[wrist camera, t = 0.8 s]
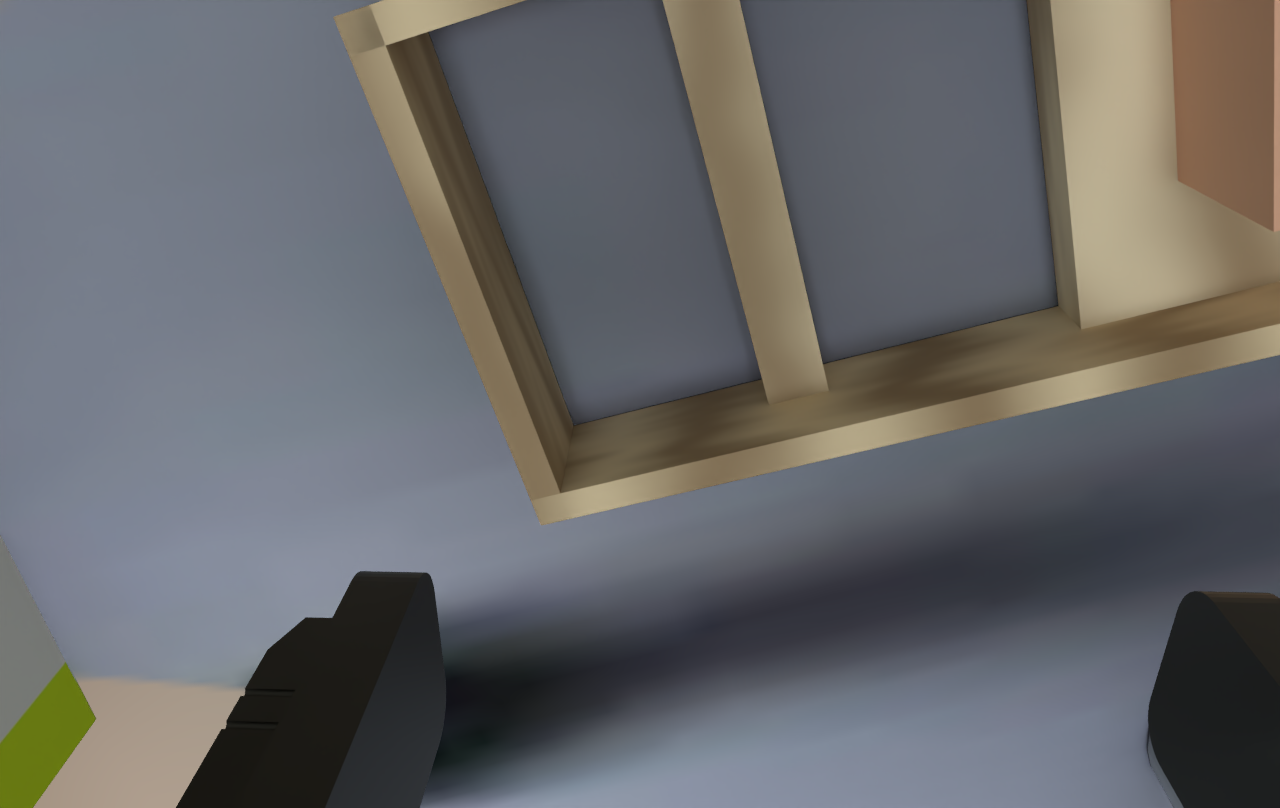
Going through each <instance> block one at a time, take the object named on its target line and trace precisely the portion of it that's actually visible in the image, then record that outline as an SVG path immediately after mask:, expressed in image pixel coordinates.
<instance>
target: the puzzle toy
mask: <svg viewBox="0 0 1280 808" xmlns="http://www.w3.org/2000/svg"><path fill="white" fill-rule="evenodd" d="M95 720H96V717H95V715H94V713H93V711H92V710H91V707H90V705H89V704H88V702H87V700H86V698H85V696H84V694H83V692H82V690H81V688H80V686H79V684H78V682H77V680H76V679H74V677H73V675H72V673H71V672H70V670H69V668H68V666H67V664H66V662H65V660H64V658H63V656H62V654H61V652H60V650H59V648H58V646H57V644H56V642H55V640H54V638H53V637H52V635H51V633H50V631H49V629H48V627H47V625H46V623H45V621H44V619H43V617H42V615H41V613H40V611H39V609H38V607H37V605H36V604H35V602H34V600H33V598H32V596H31V594H30V592H29V590H28V588H27V586H26V584H25V582H24V580H23V578H22V576H21V574H20V572H19V570H18V569H17V567H16V565H15V563H14V561H13V559H12V557H11V555H10V553H9V551H8V549H7V547H6V545H5V543H4V541H3V539H2V537H1V535H0V808H33V807H34V805H35V804H36V803H37V801H38V800H39V798H40V797H41V796H42V794H43V793H44V791H45V790H46V789H47V787H48V785H49V784H50V783H51V781H52V780H53V779H54V777H55V776H56V775H57V773H58V772H59V770H60V769H61V768H62V766H63V765H64V763H65V762H66V761H67V759H68V758H69V756H70V755H71V754H72V752H73V751H74V749H75V748H76V746H77V745H78V744H79V742H80V741H81V740H82V738H83V737H84V735H85V734H86V733H87V731H88V730H89V728H90V727H91V726H92V724H93V723H94V721H95Z"/></svg>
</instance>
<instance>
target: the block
mask: <svg viewBox="0 0 1280 808" xmlns="http://www.w3.org/2000/svg"><path fill="white" fill-rule="evenodd" d="M1170 6H1171V29H1172V53H1173V77H1174V101H1175V125H1176V149H1177V173H1178V181H1179V182H1181V183H1183V184H1185V185H1187V186H1189V187H1191V188H1192V189H1194V190H1196V191H1198V192H1200V193H1202V194H1204V195H1205V196H1207V197H1209V198H1211V199H1213V200H1215V201H1217V202H1219V203H1220V204H1222V205H1224V206H1226V207H1228V208H1230V209H1232V210H1233V211H1235V212H1237V213H1239V214H1241V215H1243V216H1245V217H1247V218H1248V219H1250V220H1252V221H1254V222H1256V223H1258V224H1260V225H1261V226H1263V227H1265V228H1267V229H1269V230H1271V231H1273V232H1276V231H1280V0H1170Z"/></svg>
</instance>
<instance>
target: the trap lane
mask: <svg viewBox="0 0 1280 808" xmlns="http://www.w3.org/2000/svg"><path fill="white" fill-rule="evenodd" d="M522 1H525V0H383V1H380V2H377V3H374V4H371V5H368V6H365V7H362V8H359V9H356V10H353V11H350V12H347V13H344V14H341V15H338V16H335V17H334V20H335V22H336V25H337V27H338V30H339V32H340V35H341V37H342V39H343V42H344V44H345V47H346V49H347V52H348V54H349V57H350V59H351V62H352V64H353V66H354V69H355V71H356V74H357V76H358V79H359V81H360V84H361V86H362V88H363V91H364V93H365V96H366V98H367V101H368V103H369V106H370V108H371V110H372V113H373V115H374V118H375V120H376V123H377V125H378V128H379V130H380V132H381V135H382V137H383V140H384V142H385V145H386V147H387V150H388V152H389V154H390V157H391V159H392V162H393V164H394V167H395V169H396V172H397V174H398V177H399V179H400V181H401V184H402V186H403V189H404V191H405V194H406V196H407V199H408V201H409V203H410V206H411V208H412V211H413V213H414V216H415V218H416V221H417V223H418V225H419V228H420V230H421V233H422V235H423V238H424V240H425V243H426V245H427V247H428V250H429V252H430V255H431V257H432V260H433V262H434V265H435V267H436V270H437V272H438V274H439V277H440V279H441V282H442V284H443V287H444V289H445V292H446V294H447V296H448V299H449V301H450V304H451V306H452V309H453V311H454V314H455V316H456V318H457V321H458V323H459V326H460V328H461V331H462V333H463V336H464V338H465V340H466V343H467V345H468V348H469V350H470V353H471V355H472V358H473V360H474V362H475V365H476V367H477V370H478V372H479V375H480V377H481V380H482V382H483V385H484V387H485V389H486V392H487V394H488V397H489V399H490V402H491V404H492V407H493V409H494V411H495V414H496V416H497V419H498V421H499V424H500V426H501V429H502V431H503V433H504V436H505V438H506V441H507V443H508V446H509V448H510V451H511V453H512V455H513V458H514V460H515V463H516V465H517V468H518V470H519V473H520V475H521V478H522V480H523V482H524V485H525V487H526V490H527V492H528V495H529V497H530V500H531V502H532V504H533V507H534V509H535V512H536V514H537V517H538V519H539V522H540V524H541V525H546V524H550V523H554V522H559V521H563V520H567V519H572V518H576V517H580V516H585V515H589V514H593V513H598V512H602V511H606V510H611V509H615V508H619V507H623V506H628V505H632V504H636V503H641V502H645V501H649V500H654V499H658V498H662V497H667V496H671V495H675V494H680V493H684V492H688V491H693V490H697V489H701V488H706V487H710V486H714V485H719V484H723V483H727V482H732V481H736V480H740V479H745V478H749V477H753V476H758V475H762V474H766V473H771V472H775V471H779V470H784V469H788V468H792V467H797V466H801V465H805V464H810V463H814V462H818V461H822V460H827V459H831V458H835V457H840V456H844V455H848V454H853V453H857V452H861V451H866V450H870V449H874V448H879V447H883V446H887V445H892V444H896V443H900V442H905V441H909V440H913V439H918V438H922V437H926V436H931V435H935V434H939V433H944V432H948V431H952V430H957V429H961V428H965V427H970V426H974V425H978V424H983V423H987V422H991V421H996V420H1000V419H1004V418H1008V417H1013V416H1017V415H1021V414H1026V413H1030V412H1034V411H1039V410H1043V409H1047V408H1052V407H1056V406H1060V405H1065V404H1069V403H1073V402H1078V401H1082V400H1086V399H1091V398H1095V397H1099V396H1104V395H1108V394H1112V393H1117V392H1121V391H1125V390H1130V389H1134V388H1138V387H1143V386H1147V385H1151V384H1156V383H1160V382H1164V381H1169V380H1173V379H1177V378H1182V377H1186V376H1190V375H1195V374H1199V373H1203V372H1207V371H1212V370H1216V369H1220V368H1225V367H1229V366H1233V365H1238V364H1242V363H1246V362H1251V361H1255V360H1259V359H1264V358H1268V357H1272V356H1277V355H1280V231H1276V232H1273V231H1271V230H1269V229H1267V228H1265V227H1263V226H1261V225H1260V224H1258V223H1256V222H1254V221H1252V220H1250V219H1248V218H1247V217H1245V216H1243V215H1241V214H1239V213H1237V212H1235V211H1233V210H1232V209H1230V208H1228V207H1226V206H1224V205H1222V204H1220V203H1219V202H1217V201H1215V200H1213V199H1211V198H1209V197H1207V196H1205V195H1204V194H1202V193H1200V192H1198V191H1196V190H1194V189H1192V188H1191V187H1189V186H1187V185H1185V184H1183V183H1181V182H1179V181H1178V173H1177V149H1176V125H1175V101H1174V77H1173V53H1172V29H1171V6H1170V0H1027V9H1028V18H1029V28H1030V37H1031V47H1032V57H1033V66H1034V76H1035V85H1036V95H1037V104H1038V114H1039V124H1040V133H1041V143H1042V152H1043V162H1044V172H1045V181H1046V191H1047V200H1048V210H1049V219H1050V229H1051V239H1052V248H1053V258H1054V267H1055V277H1056V287H1057V296H1058V306H1057V307H1053V308H1049V309H1045V310H1040V311H1036V312H1032V313H1028V314H1024V315H1020V316H1016V317H1012V318H1008V319H1004V320H1000V321H996V322H992V323H988V324H984V325H980V326H976V327H972V328H968V329H964V330H960V331H956V332H951V333H947V334H943V335H939V336H935V337H931V338H927V339H923V340H919V341H915V342H911V343H907V344H903V345H899V346H895V347H891V348H887V349H883V350H879V351H875V352H871V353H866V354H862V355H858V356H854V357H850V358H846V359H842V360H838V361H834V362H830V363H826V364H823V363H822V358H821V354H820V349H819V345H818V341H817V336H816V332H815V328H814V323H813V319H812V315H811V310H810V306H809V301H808V297H807V293H806V288H805V284H804V280H803V275H802V271H801V267H800V262H799V258H798V253H797V249H796V245H795V240H794V236H793V232H792V227H791V223H790V219H789V214H788V210H787V205H786V201H785V197H784V192H783V188H782V184H781V179H780V175H779V171H778V166H777V162H776V157H775V153H774V149H773V144H772V140H771V136H770V131H769V127H768V123H767V118H766V114H765V109H764V105H763V101H762V96H761V92H760V88H759V83H758V79H757V74H756V70H755V66H754V61H753V57H752V53H751V48H750V44H749V40H748V35H747V31H746V26H745V22H744V18H743V13H742V9H741V5H740V0H663V3H664V7H665V11H666V15H667V19H668V22H669V26H670V30H671V34H672V38H673V41H674V45H675V49H676V53H677V57H678V61H679V64H680V68H681V72H682V76H683V80H684V83H685V87H686V91H687V95H688V99H689V102H690V106H691V110H692V114H693V118H694V121H695V125H696V129H697V133H698V137H699V141H700V144H701V148H702V152H703V156H704V160H705V163H706V167H707V171H708V175H709V179H710V182H711V186H712V190H713V194H714V198H715V201H716V205H717V209H718V213H719V217H720V221H721V224H722V228H723V232H724V236H725V240H726V243H727V247H728V251H729V255H730V259H731V262H732V266H733V270H734V274H735V278H736V281H737V285H738V289H739V293H740V297H741V301H742V304H743V308H744V312H745V316H746V320H747V323H748V327H749V331H750V335H751V339H752V342H753V346H754V350H755V354H756V358H757V361H758V365H759V369H760V373H761V377H762V379H761V380H757V381H753V382H749V383H745V384H741V385H737V386H733V387H729V388H725V389H721V390H717V391H713V392H709V393H705V394H701V395H696V396H692V397H688V398H684V399H680V400H676V401H672V402H668V403H664V404H660V405H656V406H652V407H648V408H644V409H640V410H636V411H632V412H628V413H624V414H620V415H616V416H612V417H607V418H603V419H599V420H595V421H591V422H587V423H583V424H579V425H575V426H573V423H572V420H571V417H570V415H569V412H568V409H567V407H566V404H565V401H564V399H563V396H562V393H561V390H560V388H559V385H558V382H557V380H556V377H555V374H554V371H553V369H552V366H551V363H550V361H549V358H548V355H547V353H546V350H545V347H544V344H543V342H542V339H541V336H540V334H539V331H538V328H537V325H536V323H535V320H534V317H533V315H532V312H531V309H530V307H529V304H528V301H527V298H526V296H525V293H524V290H523V288H522V285H521V282H520V279H519V277H518V274H517V271H516V269H515V266H514V263H513V261H512V258H511V255H510V252H509V250H508V247H507V244H506V242H505V239H504V236H503V233H502V231H501V228H500V225H499V223H498V220H497V217H496V215H495V212H494V209H493V206H492V204H491V201H490V198H489V196H488V193H487V190H486V187H485V185H484V182H483V179H482V177H481V174H480V171H479V169H478V166H477V163H476V160H475V158H474V155H473V152H472V150H471V147H470V144H469V141H468V139H467V136H466V133H465V131H464V128H463V125H462V123H461V120H460V117H459V114H458V112H457V109H456V106H455V104H454V101H453V98H452V95H451V93H450V90H449V87H448V85H447V82H446V79H445V77H444V74H443V71H442V68H441V66H440V63H439V60H438V58H437V55H436V52H435V49H434V47H433V44H432V41H431V39H430V36H429V33H428V32H429V31H432V30H435V29H438V28H441V27H445V26H448V25H451V24H454V23H457V22H460V21H463V20H466V19H469V18H472V17H475V16H479V15H482V14H485V13H488V12H491V11H494V10H497V9H500V8H503V7H506V6H510V5H513V4H516V3H519V2H522Z"/></svg>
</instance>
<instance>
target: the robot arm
mask: <svg viewBox="0 0 1280 808" xmlns="http://www.w3.org/2000/svg"><path fill="white" fill-rule="evenodd" d="M445 706H446V681H445V672H444V664H443V656H442V648H441V640H440V632H439V624H438V616H437V608H436V600H435V592H434V586H433V582H432V579H431V576H430V575H429V574H428V573H417V572H371V571H360V572H358V573H357V574H356V575H355V576H354V578H353V579H352V581H351V583H350V585H349V587H348V589H347V591H346V593H345V595H344V597H343V598H342V600H341V602H340V604H339V606H338V608H337V610H336V612H335V614H334V616H333V618H305V619H304V620H302V621H301V622H300V623H299V624H298V625H296V626H295V627H294V628H293V629H292V630H291V631H289V632H288V633H287V634H286V635H285V636H283V637H282V638H281V639H280V640H279V641H277V642H276V643H275V644H274V645H273V646H272V647H270V648H269V649H268V650H267V652H266V654H265V655H264V657H263V659H262V660H261V662H260V664H259V666H258V667H257V669H256V671H255V672H254V674H253V676H252V678H251V679H250V681H249V683H248V684H247V686H246V688H245V695H244V696H241V697H240V698H239V700H238V702H237V704H236V705H235V707H234V709H233V710H232V712H231V714H230V715H229V717H228V719H227V725H226V729H221V731H220V733H219V734H218V736H217V738H216V740H215V741H214V743H213V745H212V746H211V748H210V750H209V752H208V753H207V755H206V757H205V758H204V760H203V762H202V764H201V765H200V767H199V769H198V771H197V772H196V774H195V776H194V777H193V779H192V781H191V783H190V784H189V786H188V788H187V789H186V791H185V793H184V795H183V796H182V798H181V800H180V802H179V803H178V805H177V807H176V808H420V805H421V802H422V798H423V795H424V792H425V788H426V785H427V782H428V779H429V775H430V772H431V769H432V765H433V762H434V759H435V756H436V752H437V749H438V746H439V742H440V739H441V734H442V730H443V724H444V716H445ZM1148 725H1149V743H1148V755H1149V760H1150V765H1151V767H1152V769H1153V771H1154V773H1155V774H1156V776H1157V778H1158V780H1159V782H1160V784H1161V785H1162V787H1163V789H1164V791H1165V793H1166V794H1167V796H1168V798H1169V800H1170V802H1171V804H1172V805H1173V807H1174V808H1280V598H1278V597H1277V596H1275V595H1273V594H1270V593H1249V592H1203V591H1194V592H1190V593H1189V594H1187V595H1186V596H1185V597H1184V598H1183V599H1182V601H1181V603H1180V605H1179V607H1178V610H1177V613H1176V616H1175V620H1174V623H1173V626H1172V630H1171V633H1170V636H1169V639H1168V643H1167V646H1166V649H1165V653H1164V656H1163V659H1162V662H1161V666H1160V669H1159V672H1158V676H1157V679H1156V682H1155V685H1154V689H1153V692H1152V695H1151V699H1150V703H1149V710H1148Z"/></svg>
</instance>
